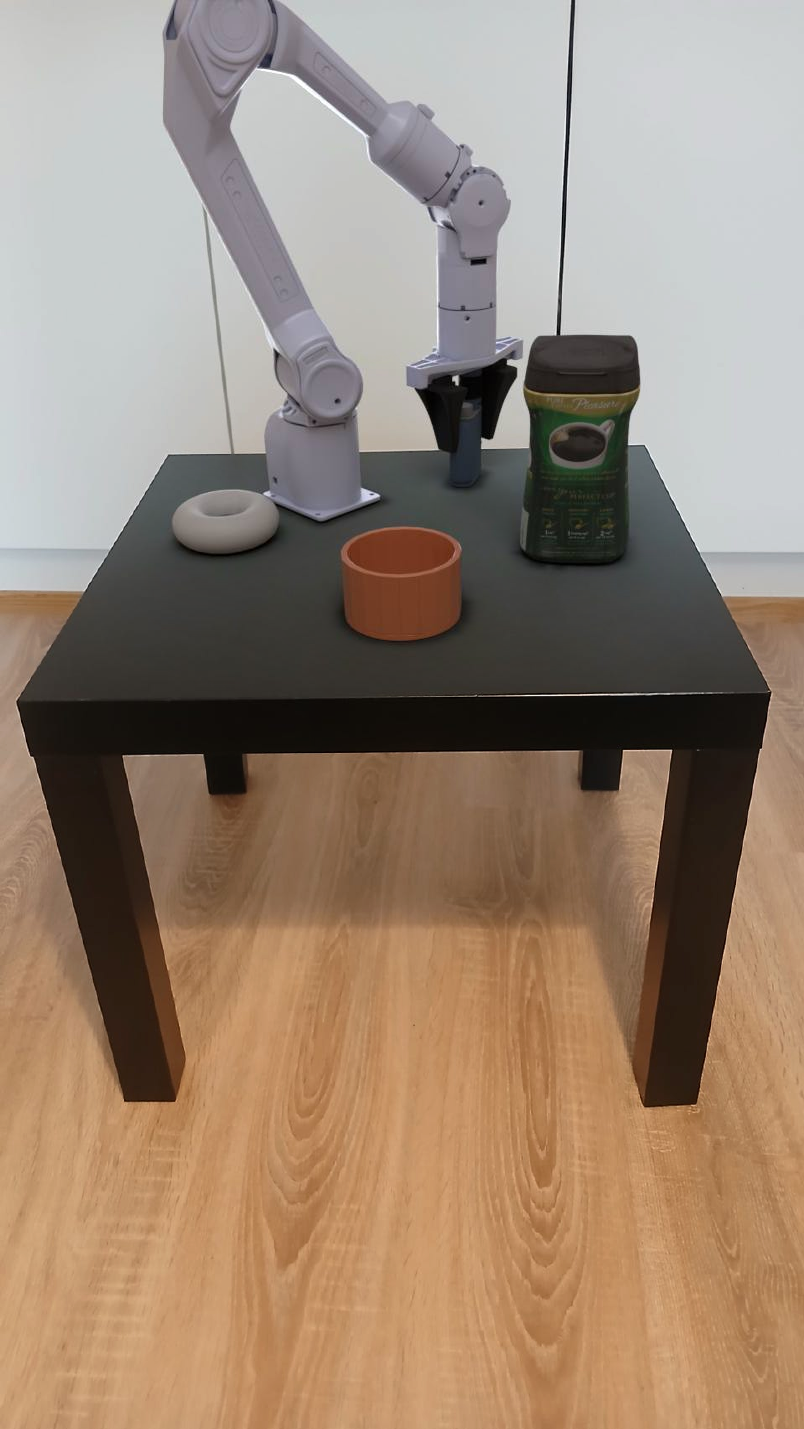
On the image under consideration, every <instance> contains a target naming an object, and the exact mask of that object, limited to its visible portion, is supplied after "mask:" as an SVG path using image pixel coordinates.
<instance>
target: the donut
mask: <svg viewBox="0 0 804 1429" xmlns="http://www.w3.org/2000/svg"><path fill="white" fill-rule="evenodd" d="M280 518H281V516H280V512H279V510H278V508H277V506H276V503H274V502H272V501H271V500H270V499H268V498H267V497H265V496H264V495H263V493H258V492H256V491H252V490H245V489H220V490H212V491H209V492H203V493H201V494H198V495H196V496H193V497H191V498H189V499H186V500H185V501H184V502H183V503H181V504H180V505H179V506H178V507H177V508H176V510H175V511H174V514H173V516H172V518H171V527H172V532H173V534H174V537H175V538H176V539H177V541H178V542H180V543H181V544H182V545H184V546H185V547H186V548H188V549H190V550H193V551H196V552H198V553H205V554H214V555H218V554H219V555H220V554H221V555H222V554H223V555H226V554H235V553H241V552H244V551H248V550H251V549H254V548H257V547H259V546H261V545H263V544H266V543H267V541H269V540H270V539H271V538H272V537H273V536H275V534H276V532H277V530H278V527H279V525H280V520H281V519H280Z"/></svg>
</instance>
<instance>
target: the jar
mask: <svg viewBox="0 0 804 1429" xmlns="http://www.w3.org/2000/svg"><path fill="white" fill-rule="evenodd" d="M462 553H463V552H462V547H461V545H460V542H459V541H458V540H456V539H455V538H453V536H451V535H449V534H447V533H444V532H442V531H439V530H437V529H431V528H427V527H419V526H392V527H382V528H378V529H373V530H368V531H366V532H363V533H360V534H358V535H355V536H354V537H352V538H351V539H349V540H348V541H347V542H345V543H344V544H343V546H342V548H341V550H340V566H341V580H342V581H341V582H342V595H343V609H344V617H345V621H346V622H347V624H348V626H350V628H352V629H353V630H354V631H356V632H357V633H359V634H362V635H364V636H366V637H369V638H372V639H377V640H383V641H393V642H407V641H417V640H424V639H428V638H432V637H434V636H438V635H440V634H443V633H445V632H446V631H448V630H450V629H452V628H453V627H454V626H455V625H456V624H457V623H458V621H459V620H460V617H461V614H462V606H463V605H462V602H463V601H462V599H463V597H462V590H463V587H462V584H463V583H462V582H463V580H462V578H463V576H462V574H463V573H462V571H463V570H462V568H463V566H462V564H463V562H462V560H463V559H462V558H463V554H462Z"/></svg>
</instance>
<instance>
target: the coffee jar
mask: <svg viewBox="0 0 804 1429" xmlns="http://www.w3.org/2000/svg"><path fill="white" fill-rule="evenodd" d="M638 348H639V347H638V343H637V342H636V340H635V338H634V336H633V335H628V334H624V335H622V334H619V335H618V334H617V335H616V334H614V335H613V334H557V335H555V334H553V335H537V337H536V338H535V339H534V340H533V342H532V343H531V345H530V349H529V354H528V359H527V363H526V364H527V365H526V368H525V376H524V380H523V384H522V391H523V397H524V398H523V399H524V401H525V404H526V407H527V410H528V414H529V443H528V456H527V466H526V473H525V474H526V475H525V484H524V490H523V499H522V506H521V517H520V529H519V544H520V548H521V550H522V552H524V554H526V555H527V556H529V557H530V558H532V559H534V560H536V561H541V562H551V563H552V562H553V563H576V564H577V563H578V564H580V563H581V564H586V563H588V564H591V563H594V564H595V563H596V564H597V563H598V564H599V563H608V562H612V561H615V560H616V559H618V558H619V557H622V556H623V555H624V554H625V553H626V551H627V548H628V547H629V546H628V545H629V544H628V543H629V533H630V498H629V497H630V496H629V434H630V433H629V432H630V423H631V422H630V421H631V416H632V412H633V410H634V408H635V406H636V404H637V402H638V400H639V397H640V393H641V382H642V381H641V367H640V361H639V349H638Z"/></svg>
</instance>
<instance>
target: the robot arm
mask: <svg viewBox="0 0 804 1429" xmlns="http://www.w3.org/2000/svg"><path fill="white" fill-rule="evenodd" d="M161 35H162V36H161V37H162V47H163V89H162V90H163V92H162V94H163V95H162V124H163V127H164V129H165V133H166V135H167V137H168V139H169V141H170V143H171V146H172V147H173V149H174V151H175V152H176V155H177V156H178V158H179V161H180V163H181V164H182V167H183V168H184V170H185V173H186V174H187V176H188V178H189V180H190V182H191V185H192V187H193V188H194V191H195V192H196V194H197V196H198V198H199V200H200V202H201V204H202V207H203V209H204V210H205V212H206V214H207V216H208V219H209V220H210V222H211V224H212V226H213V228H214V230H215V232H216V234H217V236H218V237H219V240H220V242H221V244H222V246H223V248H224V250H225V251H226V253H227V255H228V258H229V260H230V262H231V263H232V266H233V267H234V269H235V271H236V273H237V275H238V277H239V279H240V282H241V283H242V285H243V287H244V290H245V291H246V293H247V294H248V297H249V299H250V301H251V303H252V305H253V307H254V309H255V312H256V314H257V315H258V317H259V319H260V320H261V323H262V325H263V329H264V334H265V338H266V340H267V342H268V344H269V346H270V349H271V351H272V357H273V373H274V376H275V380H276V382H277V384H278V385H279V387H280V388H281V389H282V390H283V391H284V392H285V393H286V397H285V398H284V402H283V404H282V405H280V406H279V407H278V408H277V409H275V410H274V411H273V412H272V413H271V414H270V416H269V417H268V420H267V422H266V425H265V428H264V435H263V437H264V448H265V450H264V451H265V460H266V468H267V477H268V488H269V490H268V491H265V492H263V493H262V495H264V496H265V497H267V498H268V499H270V500H271V501H272V502H273V503H274V504H277V505H279V506H282V507H284V508H286V509H289V510H290V511H293V512H296V513H298V514H300V515H303V516H305V517H308V518H309V519H312V520H315V521H317V522H325V521H328V520H330V519H332V518H335V517H338V516H340V515H344V514H347V513H349V512H351V511H355V510H358V509H360V508H362V507H365V506H367V505H370V504H373V503H376V502H378V501H381V495H380V494H378V493H376V492H374V491H371V490H368V489H365V488H363V487H362V477H361V458H360V439H359V421H358V420H359V418H358V406H359V404H360V402H361V400H362V397H363V392H364V379H363V375H362V372H361V370H360V368H359V366H358V365H357V364H356V362H355V361H354V360H353V359H352V358H350V357H349V356H347V355H346V354H345V353H343V351H341V349H340V348H339V347H338V345H337V343H336V341H335V339H334V337H333V335H332V333H331V332H330V330H329V328H328V327H327V325H326V324H325V323H324V322H325V321H323V319H322V318H321V316H320V315H319V313H318V311H317V310H316V308H315V307H314V305H313V302H312V301H311V299H310V298H311V297H310V296H309V294H308V292H307V290H306V288H305V286H304V283H303V281H302V279H301V276H300V275H299V273H298V270H297V268H296V267H295V266H296V265H295V264H294V263H293V260H292V258H291V255H290V254H289V251H288V249H287V247H286V244H285V243H284V241H283V238H282V236H281V234H280V232H279V230H278V228H277V225H276V223H275V221H274V220H273V217H272V215H271V213H270V211H269V209H268V206H267V204H266V203H265V200H264V198H263V195H262V193H261V192H260V190H259V188H258V185H257V183H256V181H255V179H254V177H253V175H252V172H251V170H250V168H249V166H248V164H247V161H246V160H245V158H244V155H243V153H242V151H241V149H240V147H239V145H238V143H237V140H236V139H235V137H234V134H233V133H232V129H231V124H232V121H233V118H234V115H235V112H236V109H237V106H238V104H239V100H240V97H241V94H242V91H243V87H244V85H245V84H246V83H247V82H248V80H249V78H250V77H251V76H252V74H254V72H255V71H262V72H268V73H274V74H278V75H284V76H287V77H290V78H291V79H292V80H293V81H295V82H296V83H297V84H298V85H299V86H301V88H303V89H305V90H306V91H307V92H308V93H310V95H312V96H313V97H314V98H316V99H317V100H319V101H320V102H321V103H322V104H323V105H325V106H326V107H327V108H329V109H330V110H331V111H332V112H333V113H335V114H336V115H337V116H339V117H340V118H341V119H342V120H344V121H345V122H346V123H347V124H348V125H350V126H351V127H352V128H354V129H355V130H356V131H357V132H359V133H360V134H361V135H363V136H364V140H365V146H366V152H367V157H368V160H369V162H370V163H371V164H372V165H373V166H374V167H376V168H377V169H378V170H379V171H380V172H382V173H383V174H384V175H386V177H387V178H389V179H390V180H391V181H393V182H394V183H395V184H396V185H397V186H399V187H400V188H401V189H402V190H403V191H404V192H406V193H407V194H408V195H409V196H410V197H412V198H413V199H414V200H415V201H416V202H418V203H419V204H420V205H421V206H423V207H425V211H426V212H427V215H428V217H429V219H430V220H431V221H432V222H433V223H437V224H436V327H437V328H436V338H437V340H436V345H433V346H432V352H431V353H429V354H427V355H426V356H424V357H422V358H421V359H418V360H417V361H415V362H413V363H409V364H406V365H405V375H406V376H405V377H406V386H407V387H410V388H414V391H415V392H416V394H417V395H418V398H420V401H421V402H422V405H423V406H424V408H425V410H426V412H427V415H428V418H429V421H430V424H431V426H432V430H433V433H434V437H435V438H434V439H435V441H436V445H437V449H438V450H440V451H442V452H445V453H447V454H449V453H455V452H457V448H458V443H459V424H460V416H461V410H462V406H463V402H464V399H465V396H466V393H467V391H468V389H467V388H466V387H462V386H458V384H456V383H457V382H456V380H453V377H458V375H461V374H464V373H467V372H471V371H474V370H477V369H481V368H482V389H481V394H480V395H481V406H482V428H481V439H483V440H487V441H490V440H493V439H494V438H495V433H496V429H497V426H498V424H499V423H498V422H499V418H500V415H501V411H502V409H503V405H504V403H505V400H506V398H507V396H508V394H509V393H510V392H509V391H510V390H511V388H512V386H513V384H514V383H515V381H516V380H517V378H518V366H515V365H510V364H508V361H509V360H513V361H519V360H521V359H523V357H524V339H523V338H520V337H514V336H509V335H508V336H504V337H501V338H500V337H499V338H497V319H498V318H497V316H498V314H497V310H498V307H497V306H498V267H499V266H498V264H499V261H498V260H499V250H498V248H499V247H498V246H499V241H498V240H499V233H500V231H501V229H502V227H503V226H504V225H505V223H506V221H507V219H508V217H509V214H510V211H511V204H512V200H511V199H510V198H508V197H507V190H506V189H505V188H504V186H505V184H504V181H503V180H502V178H501V177H500V175H499V174H497V172H495V170H492V169H491V168H490V167H489V168H488V167H487V166H481V165H478V164H474V163H473V161H472V160H473V159H472V156H473V153H474V150H473V149H472V148H471V147H470V146H469V145H467V144H465V143H460V144H458V143H457V142H455V140H453V139H452V138H451V137H450V136H449V135H448V134H447V133H446V132H444V130H442V129H441V128H440V127H439V126H438V125H437V124H436V123H435V122H433V121H432V120H433V119H434V117H435V111H433V110H432V109H431V108H430V107H429V106H428V105H427V104H425V103H418V104H416V105H415V104H414V103H413V102H412V101H411V100H400V101H397V102H392V103H389V102H387V101H386V100H385V99H384V98H383V97H382V95H380V94H379V93H378V92H377V90H375V89H374V88H373V86H371V85H370V84H369V83H368V82H367V81H366V80H365V79H364V78H363V77H362V76H360V74H359V73H357V71H355V69H354V68H353V67H352V66H350V65H349V64H348V62H346V60H344V59H343V57H341V56H340V55H339V53H337V52H336V51H335V50H334V49H333V48H332V47H331V46H330V45H329V44H328V43H327V42H326V41H325V40H324V39H323V38H322V37H321V36H319V34H317V33H316V32H315V31H314V29H313V28H311V27H310V25H308V24H307V23H306V22H305V21H304V20H303V19H302V18H301V17H299V16H298V15H297V14H296V13H295V12H294V11H293V10H291V9H290V8H289V7H288V6H287V5H286V4H285V3H283V2H282V1H280V0H173V3H172V5H171V7H170V11H169V13H168V16H167V19H166V21H165V24H164V27H163V30H162V34H161Z"/></svg>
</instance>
